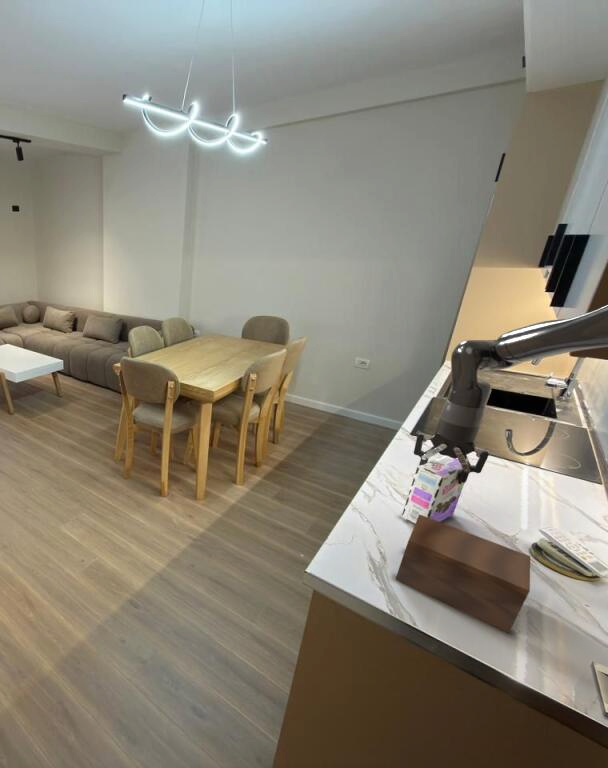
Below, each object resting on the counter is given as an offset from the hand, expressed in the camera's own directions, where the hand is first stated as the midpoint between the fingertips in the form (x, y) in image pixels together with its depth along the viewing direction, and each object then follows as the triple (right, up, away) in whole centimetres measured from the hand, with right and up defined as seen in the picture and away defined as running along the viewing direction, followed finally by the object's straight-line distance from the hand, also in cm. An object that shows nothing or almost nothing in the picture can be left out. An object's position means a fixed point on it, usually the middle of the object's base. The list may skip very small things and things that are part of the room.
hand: (440, 476), depth 102 cm
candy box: (0, -12, +5) cm, 13 cm away
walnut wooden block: (-13, -20, -17) cm, 29 cm away
